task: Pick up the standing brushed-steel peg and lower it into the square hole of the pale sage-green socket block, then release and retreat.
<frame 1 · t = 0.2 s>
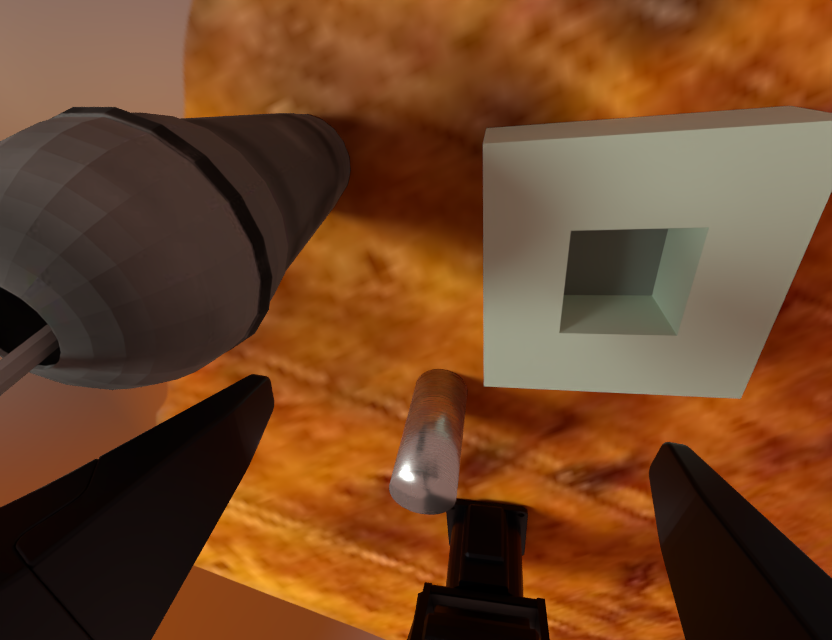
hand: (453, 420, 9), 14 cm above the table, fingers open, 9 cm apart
peg: (441, 389, 28), on the table
beverage cup: (309, 161, 21), on the table
socket block: (606, 248, 21), on the table
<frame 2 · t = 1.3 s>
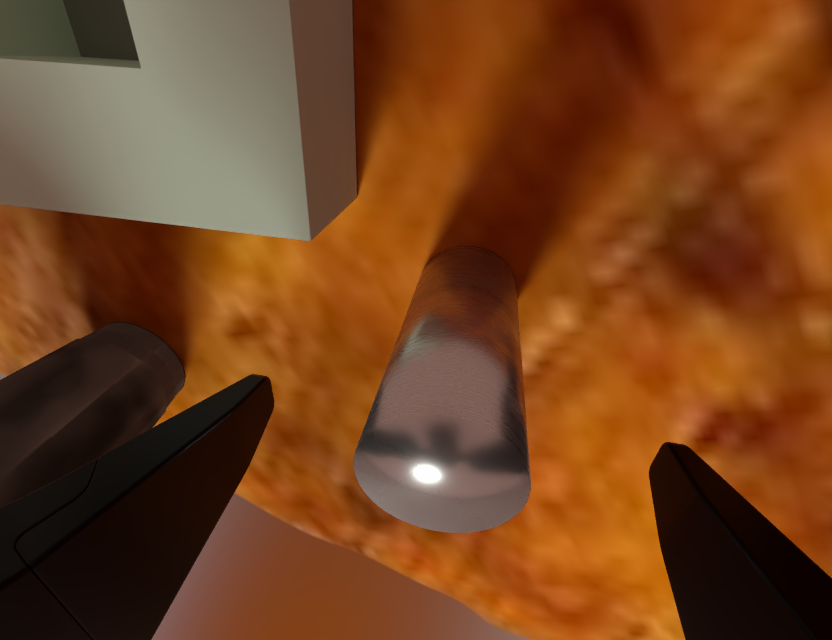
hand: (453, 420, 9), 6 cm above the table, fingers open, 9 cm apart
peg: (466, 291, 15), on the table
beverage cup: (143, 359, 20), on the table
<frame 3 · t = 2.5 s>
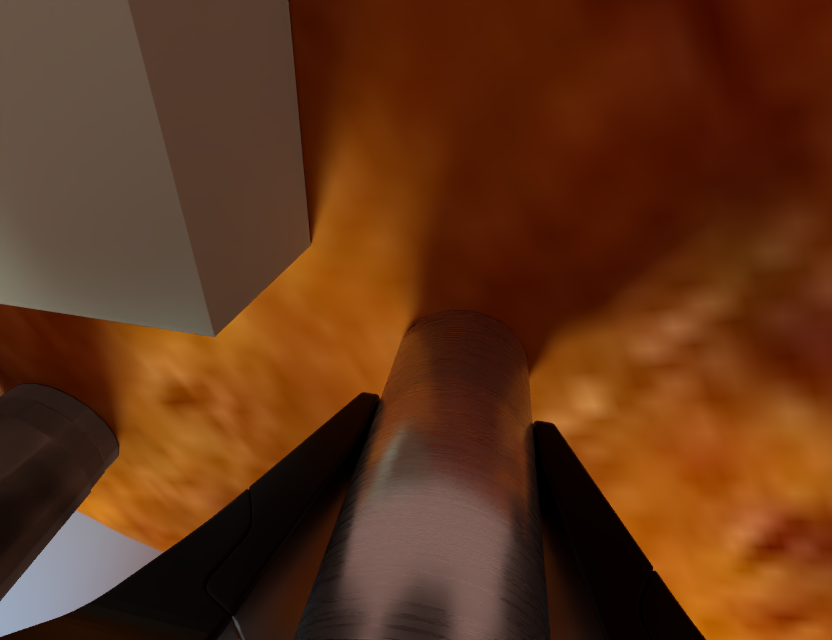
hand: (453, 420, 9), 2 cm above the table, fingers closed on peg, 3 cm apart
peg: (460, 366, 11), on the table, touching gripper
beverage cup: (68, 423, 16), on the table
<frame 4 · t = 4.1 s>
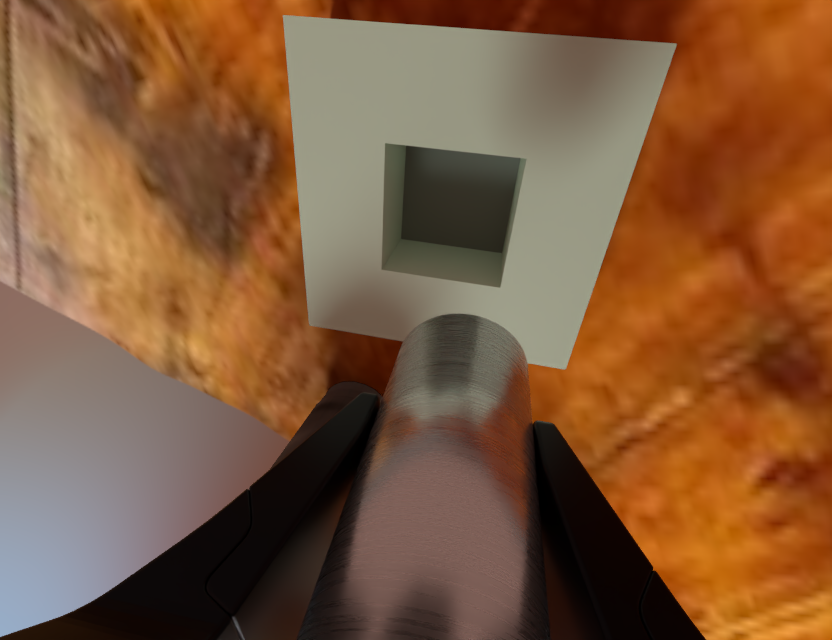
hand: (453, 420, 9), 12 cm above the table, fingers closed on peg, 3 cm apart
peg: (461, 368, 11), point 10 cm above the table, touching gripper
beverage cup: (357, 405, 28), on the table
socket block: (457, 193, 19), on the table
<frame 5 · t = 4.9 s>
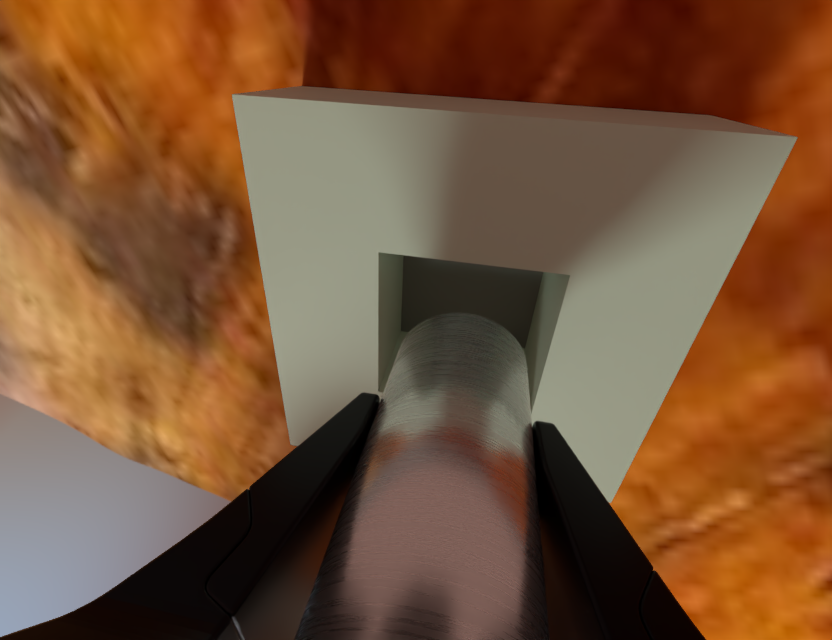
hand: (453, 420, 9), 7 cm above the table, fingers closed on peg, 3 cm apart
peg: (460, 368, 11), point 5 cm above the table, touching gripper
socket block: (469, 280, 15), on the table
when the fingers open (4 cm above the table, at t = 5.7 s): peg drops 2 cm, resting on socket block.
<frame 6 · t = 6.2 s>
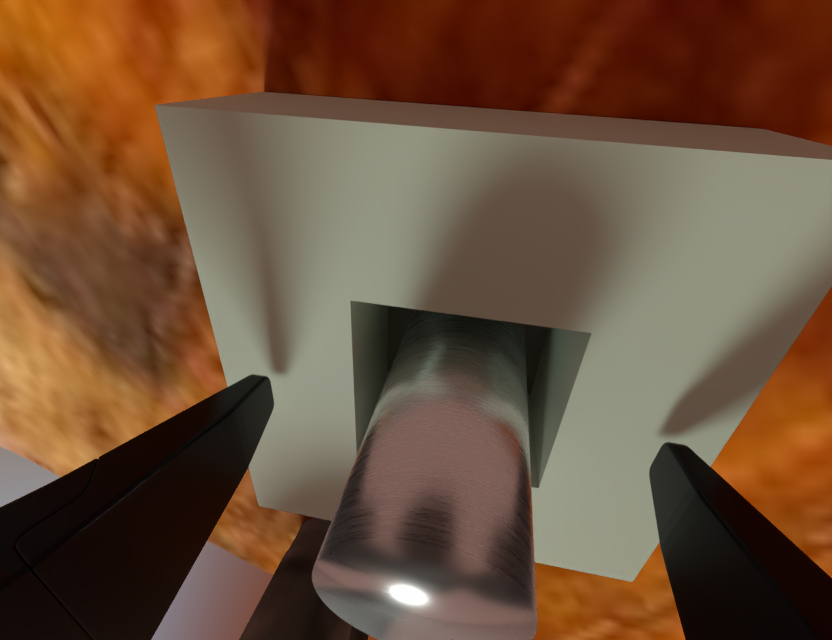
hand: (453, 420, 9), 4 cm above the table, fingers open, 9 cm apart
peg: (466, 326, 13), resting on socket block
beverage cup: (341, 539, 22), on the table
socket block: (466, 317, 13), on the table
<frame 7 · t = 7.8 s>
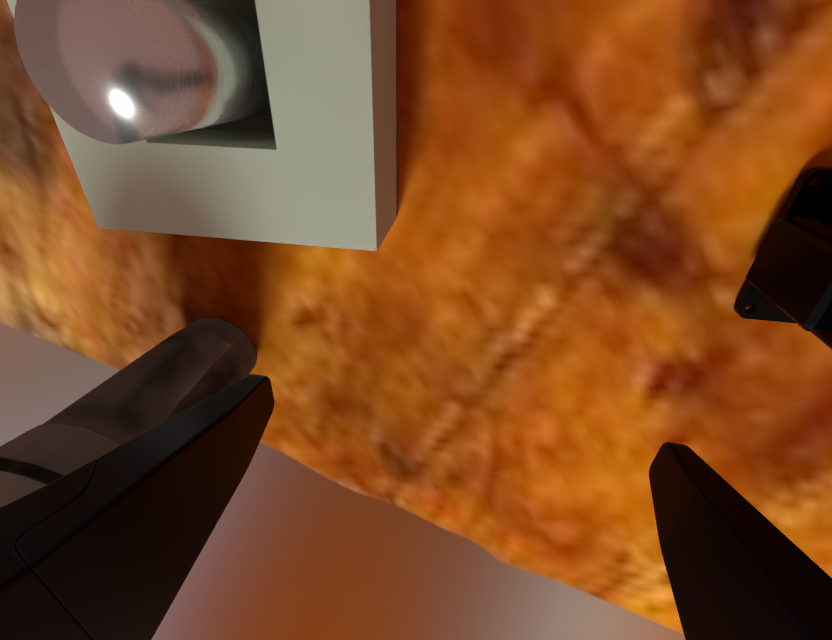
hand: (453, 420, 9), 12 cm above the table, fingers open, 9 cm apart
peg: (249, 66, 17), resting on socket block
beverage cup: (223, 346, 26), on the table
socket block: (251, 64, 17), on the table
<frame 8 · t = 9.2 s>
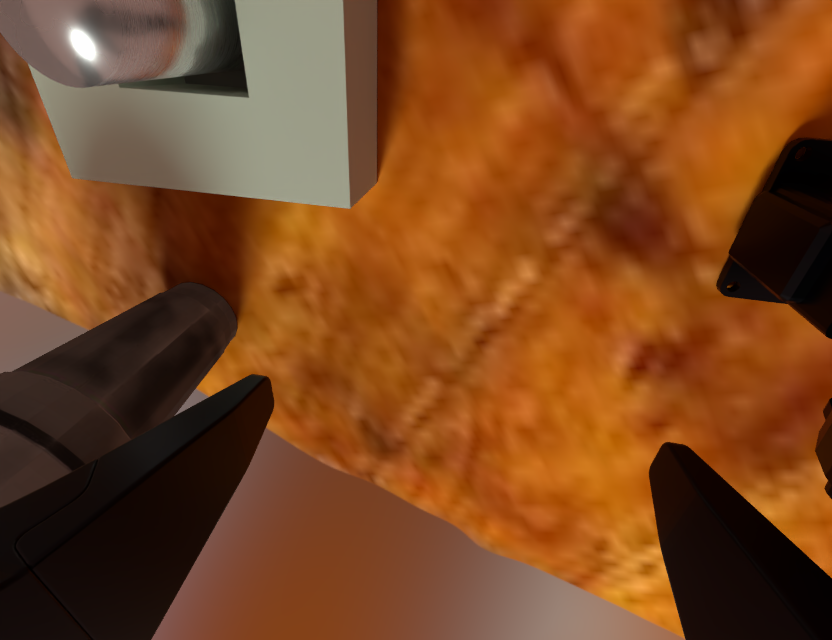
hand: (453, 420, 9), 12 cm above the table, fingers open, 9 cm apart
peg: (228, 17, 16), resting on socket block
beverage cup: (204, 313, 25), on the table
socket block: (231, 15, 16), on the table
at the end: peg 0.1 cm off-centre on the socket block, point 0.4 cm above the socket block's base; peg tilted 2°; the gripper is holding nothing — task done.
